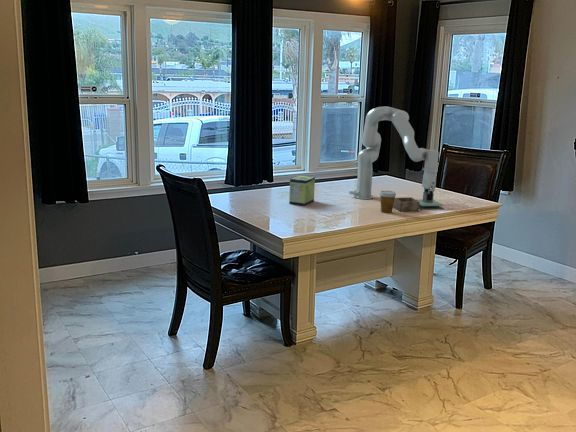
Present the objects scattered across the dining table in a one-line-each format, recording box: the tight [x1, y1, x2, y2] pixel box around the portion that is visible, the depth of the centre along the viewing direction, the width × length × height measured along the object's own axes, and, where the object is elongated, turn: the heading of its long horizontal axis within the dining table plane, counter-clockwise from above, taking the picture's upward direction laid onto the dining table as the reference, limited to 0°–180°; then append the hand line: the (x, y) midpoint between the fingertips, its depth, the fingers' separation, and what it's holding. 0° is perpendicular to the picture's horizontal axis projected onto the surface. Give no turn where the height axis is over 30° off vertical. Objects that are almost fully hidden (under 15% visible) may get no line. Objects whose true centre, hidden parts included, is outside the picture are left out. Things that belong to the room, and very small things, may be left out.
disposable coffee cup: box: [379, 190, 397, 214], centre depth 346 cm, size 10×10×12 cm
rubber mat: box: [419, 205, 445, 211], centre depth 364 cm, size 15×15×1 cm
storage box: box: [393, 196, 420, 213], centre depth 354 cm, size 12×12×6 cm
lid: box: [416, 191, 443, 207], centre depth 362 cm, size 13×13×7 cm
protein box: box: [288, 174, 316, 207], centre depth 362 cm, size 10×16×16 cm
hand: (427, 199), depth 363 cm, fingers closed on lid, 4 cm apart
